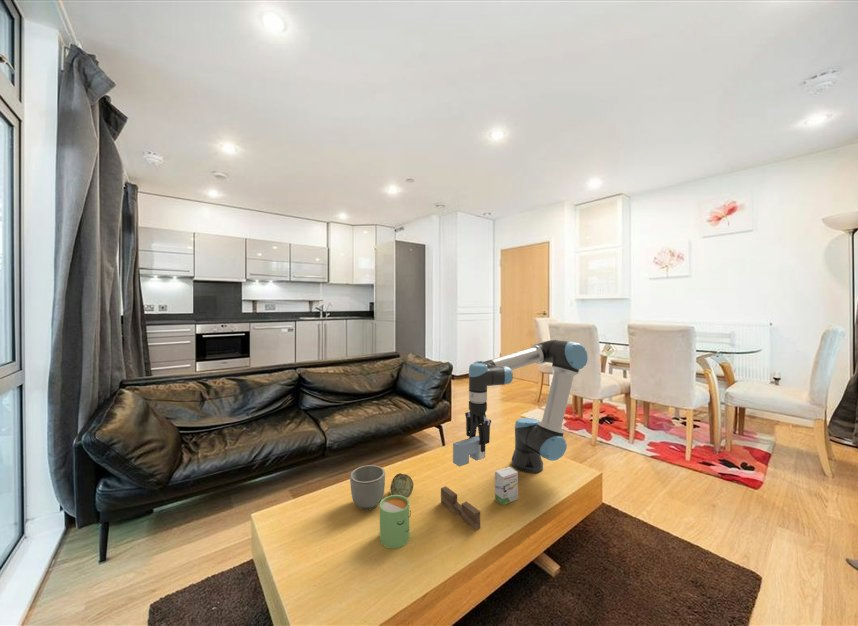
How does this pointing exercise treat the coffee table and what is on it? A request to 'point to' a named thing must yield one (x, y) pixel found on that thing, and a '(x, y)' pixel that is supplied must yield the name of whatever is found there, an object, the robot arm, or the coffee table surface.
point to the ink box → (506, 485)
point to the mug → (394, 521)
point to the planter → (367, 486)
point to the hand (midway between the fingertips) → (477, 456)
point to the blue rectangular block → (465, 450)
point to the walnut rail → (460, 508)
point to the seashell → (401, 485)
